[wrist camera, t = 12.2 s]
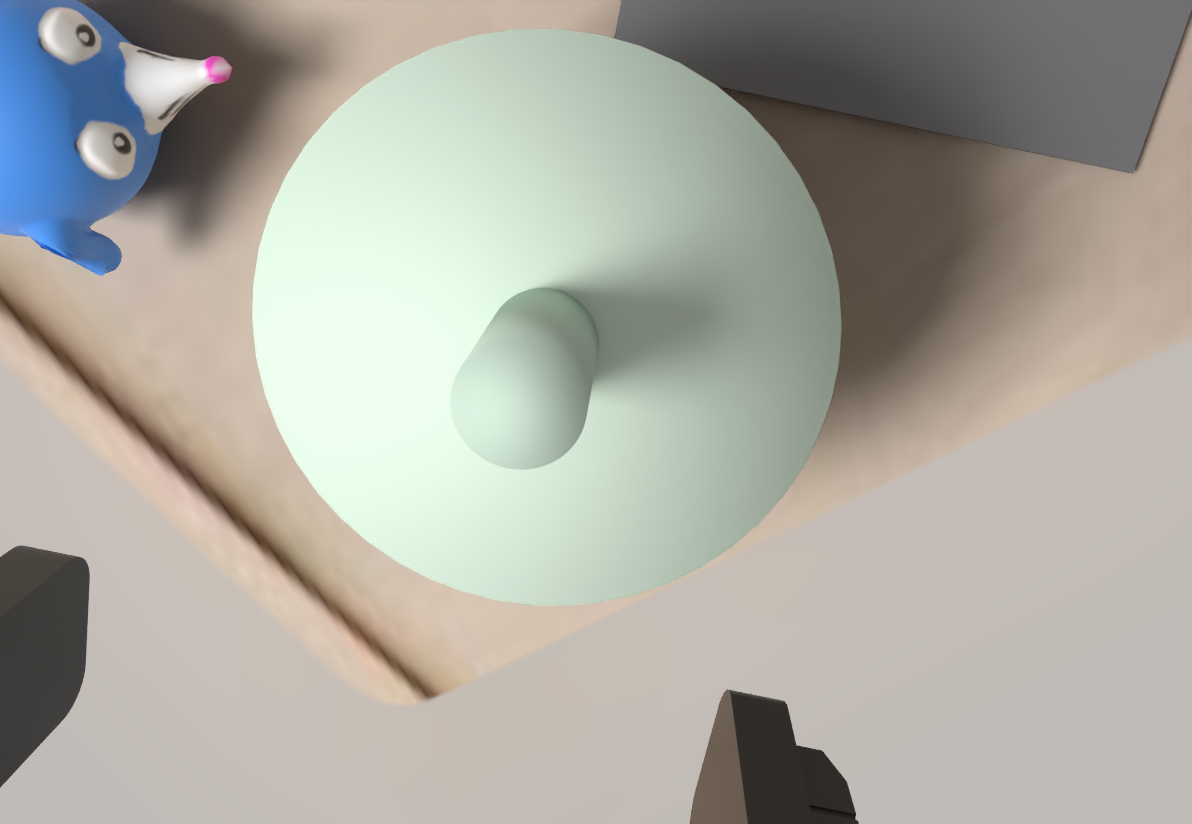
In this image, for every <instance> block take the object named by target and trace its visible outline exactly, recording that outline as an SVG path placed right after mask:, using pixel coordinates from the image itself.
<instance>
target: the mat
mask: <svg viewBox="0 0 1192 824" xmlns="http://www.w3.org/2000/svg"><path fill="white" fill-rule="evenodd" d="M1191 11H1192V0H622V2H621V8H620V13H619V18H618V23H617V28H616V34H615V39H618V40H621V41H625V42H628V43H632V44H636V45H639V46H642V47H644V48H647V49H649V50H651V51H654V52H656V53H658V54H660V55H663V56H665V57H667V58H670V59H672V60H674V61H676V62H679V63H681V64H682V65H684V66H686V67H687V68H689V69H691V70H692V71H694V72H695V73H697V74H699V75H700V76H702V77H704V78H705V79H707V80H709V81H710V82H712V83H713V84H715V85H716V86H719V87H724V88H728V89H733V90H738V91H743V92H747V93H752V94H757V95H762V96H766V97H771V98H776V99H781V100H785V101H790V102H795V103H800V104H804V105H809V106H814V107H819V108H823V109H828V110H833V111H838V112H842V113H847V114H852V115H857V116H861V117H866V118H871V119H876V120H880V121H885V122H890V123H895V124H899V125H904V126H909V127H914V128H918V129H923V130H928V131H933V132H937V133H942V134H947V135H952V136H956V137H961V138H966V139H971V140H975V141H980V142H985V143H990V144H994V145H999V146H1004V147H1009V148H1013V149H1018V150H1023V151H1028V152H1032V153H1037V154H1042V155H1047V156H1051V157H1056V158H1061V159H1066V160H1070V161H1075V162H1080V163H1085V164H1089V165H1094V166H1099V167H1104V168H1108V169H1113V170H1118V171H1123V172H1127V173H1134V170H1135V167H1136V164H1137V161H1138V159H1139V156H1140V153H1141V150H1142V147H1143V145H1144V142H1145V139H1146V136H1147V134H1148V131H1149V128H1150V125H1151V122H1152V120H1153V117H1154V114H1155V111H1156V108H1157V106H1158V103H1159V100H1160V97H1161V94H1162V92H1163V89H1164V86H1165V83H1166V80H1167V78H1168V75H1169V72H1170V69H1171V67H1172V64H1173V61H1174V58H1175V55H1176V53H1177V50H1178V47H1179V44H1180V41H1181V39H1182V36H1183V33H1184V30H1185V27H1186V25H1187V22H1188V19H1189V16H1190V13H1191Z"/></svg>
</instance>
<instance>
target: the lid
mask: <svg viewBox="0 0 1192 824" xmlns="http://www.w3.org/2000/svg"><path fill="white" fill-rule="evenodd" d="M252 323H253V332H254V341H255V350H256V359H257V363H258V367H259V371H260V375H261V379H262V384H263V388H264V392H265V396H266V398H267V401H268V403H269V406H270V409H271V411H272V414H273V416H274V419H275V422H276V424H277V427H278V429H279V431H280V433H281V435H282V437H283V439H284V441H285V443H286V444H287V446H288V448H289V450H290V452H291V454H292V456H293V458H294V459H295V461H296V463H297V464H298V466H299V467H300V468H301V470H302V471H303V473H304V474H305V476H306V477H307V478H308V480H309V481H310V483H311V484H312V486H313V487H314V488H315V490H316V491H317V492H318V493H319V495H320V496H321V497H322V498H323V499H324V500H325V501H326V502H327V503H328V505H329V506H330V507H331V508H332V509H333V510H334V511H335V512H336V513H337V515H338V516H339V517H340V518H341V519H342V520H343V521H345V522H346V523H347V524H348V525H349V526H350V527H351V528H353V529H354V530H355V531H356V532H357V533H358V534H359V535H361V536H362V537H363V538H364V539H365V540H366V541H367V542H369V543H370V544H372V545H373V546H375V547H376V548H378V549H379V550H381V551H382V552H383V553H385V554H386V555H388V556H389V557H391V558H392V559H394V560H395V561H397V562H398V563H400V564H402V565H404V566H406V567H408V568H410V569H412V570H413V571H415V572H417V573H419V574H421V575H423V576H425V577H427V578H429V579H431V580H434V581H436V582H439V583H441V584H444V585H447V586H449V587H452V588H454V589H457V590H460V591H462V592H466V593H470V594H474V595H478V596H482V597H486V598H489V599H493V600H498V601H505V602H513V603H520V604H527V605H554V606H569V605H579V604H589V603H599V602H605V601H610V600H614V599H619V598H623V597H628V596H632V595H637V594H639V593H642V592H645V591H648V590H651V589H654V588H657V587H659V586H662V585H665V584H668V583H670V582H672V581H674V580H676V579H678V578H680V577H682V576H684V575H686V574H689V573H691V572H693V571H695V570H697V569H699V568H701V567H702V566H704V565H705V564H707V563H708V562H710V561H711V560H713V559H714V558H716V557H717V556H719V555H720V554H722V553H723V552H725V551H726V550H728V549H729V548H731V547H732V546H733V545H734V544H736V543H737V542H738V541H739V540H740V539H741V538H743V537H744V536H745V535H746V534H747V533H748V532H750V531H751V530H752V529H753V528H754V527H755V526H757V525H758V524H759V522H760V521H761V520H762V519H763V518H764V517H765V516H766V515H767V514H768V513H769V511H770V510H771V509H772V508H773V507H774V506H775V505H776V504H777V503H778V501H779V500H780V499H781V498H782V497H783V495H784V494H785V492H786V491H787V489H788V488H789V487H790V485H791V484H792V482H793V481H794V479H795V478H796V476H797V475H798V474H799V472H800V471H801V469H802V468H803V466H804V464H805V462H806V460H807V458H808V456H809V454H810V452H811V450H812V448H813V446H814V444H815V442H816V440H817V438H818V436H819V434H820V431H821V428H822V425H823V423H824V420H825V417H826V414H827V411H828V409H829V406H830V403H831V400H832V395H833V390H834V385H835V381H836V376H837V371H838V366H839V357H840V343H841V329H842V323H841V307H840V292H839V284H838V279H837V274H836V269H835V264H834V259H833V254H832V249H831V246H830V244H829V241H828V238H827V235H826V232H825V229H824V226H823V224H822V221H821V218H820V215H819V212H818V210H817V208H816V206H815V204H814V202H813V200H812V198H811V196H810V194H809V192H808V190H807V188H806V187H805V185H804V183H803V181H802V179H801V177H800V175H799V174H798V172H797V171H796V169H795V168H794V166H793V165H792V164H791V162H790V161H789V159H788V158H787V156H786V155H785V154H784V152H783V151H782V149H781V148H780V146H779V145H778V144H777V142H776V141H775V140H774V139H773V138H772V137H771V136H770V134H769V133H768V132H767V131H766V130H765V129H764V128H763V127H762V126H761V125H760V124H759V123H758V122H757V120H756V119H755V118H754V117H753V116H752V115H751V114H750V113H749V112H748V111H747V110H746V109H745V108H743V107H742V106H741V105H740V104H738V103H737V102H736V101H735V100H734V99H732V98H731V97H730V96H729V95H727V94H726V93H725V92H724V91H723V90H721V89H720V88H719V87H718V86H716V85H715V84H713V83H712V82H710V81H709V80H707V79H705V78H704V77H702V76H700V75H699V74H697V73H695V72H694V71H692V70H691V69H689V68H687V67H686V66H684V65H682V64H681V63H679V62H676V61H674V60H672V59H670V58H667V57H665V56H663V55H660V54H658V53H656V52H654V51H651V50H649V49H647V48H644V47H642V46H639V45H636V44H632V43H628V42H625V41H621V40H618V39H614V38H610V37H607V36H603V35H599V34H592V33H584V32H577V31H569V30H562V29H515V30H508V31H501V32H494V33H488V34H481V35H474V36H471V37H468V38H464V39H461V40H458V41H454V42H451V43H448V44H444V45H441V46H437V47H434V48H432V49H430V50H428V51H426V52H424V53H421V54H419V55H417V56H415V57H413V58H410V59H408V60H406V61H404V62H402V63H400V64H397V65H396V66H394V67H393V68H391V69H390V70H388V71H387V72H385V73H384V74H382V75H380V76H379V77H377V78H376V79H374V80H373V81H371V82H370V83H368V84H367V85H365V86H363V87H362V88H361V89H360V90H359V91H358V92H357V93H355V94H354V95H353V96H352V97H351V98H350V99H349V100H347V101H346V102H345V103H344V104H343V105H342V106H340V107H339V108H338V109H337V110H336V111H335V112H334V113H333V114H332V115H331V116H330V117H329V118H328V119H327V121H326V122H325V123H324V124H323V125H322V126H321V128H320V129H319V130H318V131H317V132H316V133H315V135H314V136H313V137H312V138H311V139H310V140H309V141H308V143H307V144H306V146H305V147H304V149H303V150H302V152H301V153H300V155H299V157H298V158H297V160H296V161H295V163H294V164H293V166H292V168H291V169H290V171H289V172H288V174H287V175H286V177H285V179H284V182H283V184H282V186H281V188H280V190H279V193H278V195H277V197H276V199H275V201H274V203H273V206H272V208H271V210H270V213H269V216H268V220H267V223H266V226H265V230H264V233H263V236H262V240H261V243H260V246H259V251H258V258H257V264H256V271H255V277H254V283H253V321H252Z"/></svg>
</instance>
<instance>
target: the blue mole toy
mask: <svg viewBox="0 0 1192 824" xmlns="http://www.w3.org/2000/svg"><path fill="white" fill-rule="evenodd" d="M231 71H232V66H231V65H230V64H229V63H228V62H227V61H226V60H225V59H224V58H222V57H217V56H211V57H209V58H207V59H205V60H193V59H187V58H181V57H175V56H170V55H165V54H161V53H157V52H153V51H149V50H146V49H143V48H140V47H137V46H134V45H132V44H131V43H130V42H129V41H128V40H127V39H126V38H125V37H123V36H122V35H121V34H120V33H119V32H118V31H117V30H116V29H115V28H114V27H113V26H112V25H111V24H110V23H109V22H107V21H106V20H105V19H104V18H103V17H101V16H100V15H99V14H97V13H96V12H95V11H93V10H92V9H90V8H89V7H87V6H86V5H84V4H83V3H81V2H79V1H77V0H0V234H6V235H14V236H29V237H31V238H32V239H33V240H34V241H35V242H36V243H37V244H39V245H40V247H41V248H44V249H47V250H49V251H51V252H52V253H54V254H57V255H59V256H62V257H64V258H66V259H69V260H71V261H73V262H75V263H77V264H79V265H81V266H83V267H85V268H86V269H88V270H90V271H92V272H94V273H96V274H97V275H104V274H105V273H108V272H110V271H113V270H115V269H116V268H117V267H118V265H119V264H120V262H121V258H122V255H121V251H120V249H119V247H118V246H117V245H116V244H115V243H114V242H113V241H112V240H111V239H109V238H108V237H106V236H104V235H102V234H99V233H97V232H95V231H93V230H91V229H90V226H91V225H92V224H93V223H95V222H96V221H98V220H100V219H102V218H104V217H106V216H109V215H111V214H113V213H115V212H116V211H118V210H119V209H121V208H122V207H123V206H125V205H126V204H127V203H128V202H129V201H130V200H131V199H132V198H133V197H134V196H135V195H136V194H137V193H138V191H139V190H140V189H141V187H142V186H143V184H144V183H145V181H146V180H147V178H148V176H149V174H150V172H151V169H152V167H153V164H154V161H155V159H156V156H157V152H158V148H159V143H160V139H161V135H162V131H163V129H164V128H165V127H166V126H167V125H168V124H169V123H170V122H171V120H172V119H173V118H174V117H175V115H176V114H177V113H178V111H179V110H180V109H181V108H182V107H183V106H184V105H185V104H186V103H187V102H188V101H190V100H191V99H192V98H193V97H194V96H196V95H197V94H198V93H199V92H201V91H202V90H203V89H204V88H206V87H207V86H209V85H211V84H214V83H222V82H224V81H226V80H228V79H229V78H230V75H231Z"/></svg>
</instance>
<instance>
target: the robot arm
mask: <svg viewBox="0 0 1192 824" xmlns="http://www.w3.org/2000/svg"><path fill="white" fill-rule="evenodd" d="M89 580H90V578H89V567H88V564H87V562H86V561H85V560H84V559H83V558H81V557H77V556H72V555H66V554H62V553H57V552H52V551H47V550H42V549H36V548H32V547H27V546H17V547H15V548H13V549H11V550H10V551H8V552H7V553H6V554H4V555H3V556H1V557H0V787H1V786H2V785H3V784H4V783H5V782H6V781H7V780H8V779H9V777H10V776H11V775H12V774H13V773H14V772H15V771H16V770H17V769H18V768H19V767H20V765H22V763H23V762H24V761H25V760H26V759H27V758H28V757H29V756H30V755H31V754H32V753H33V752H34V750H35V749H36V748H37V747H38V746H39V745H40V744H41V743H42V742H43V741H44V740H45V739H46V737H47V736H48V735H49V734H50V733H51V732H52V731H53V730H54V729H55V728H56V727H57V726H58V725H59V724H60V722H61V721H62V720H63V719H64V718H65V716H66V715H67V714H68V713H69V711H70V709H71V708H72V706H73V704H74V702H75V700H76V698H77V696H78V693H79V691H80V688H81V685H82V682H83V678H84V673H85V665H86V644H87V623H88V601H89ZM855 816H856V813H855V809H854V805H853V802H852V798H851V795H850V792H849V788H848V785H847V782H846V780H845V779H844V778H843V776H842V775H841V774H840V773H839V771H838V770H837V769H836V768H835V766H834V765H833V764H832V762H831V761H830V760H829V759H828V757H827V756H826V755H825V754H824V752H823V751H821V750H816V749H811V748H807V747H802V746H797V745H796V742H795V738H794V733H793V729H792V724H791V720H790V716H789V711H788V707H787V704H786V703H785V701H781V700H777V699H772V698H767V697H762V696H757V695H752V694H747V693H742V692H736V691H732V690H726V691H725V692H724V694H723V696H722V698H721V701H720V704H719V707H718V711H717V714H716V718H715V722H714V725H713V729H712V732H711V736H710V740H709V744H708V747H707V751H706V754H705V758H704V762H703V765H702V769H701V772H700V776H699V780H698V783H697V787H696V791H695V795H694V799H693V805H692V810H691V818H690V824H859V823H858V821H857V820H855Z"/></svg>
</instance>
